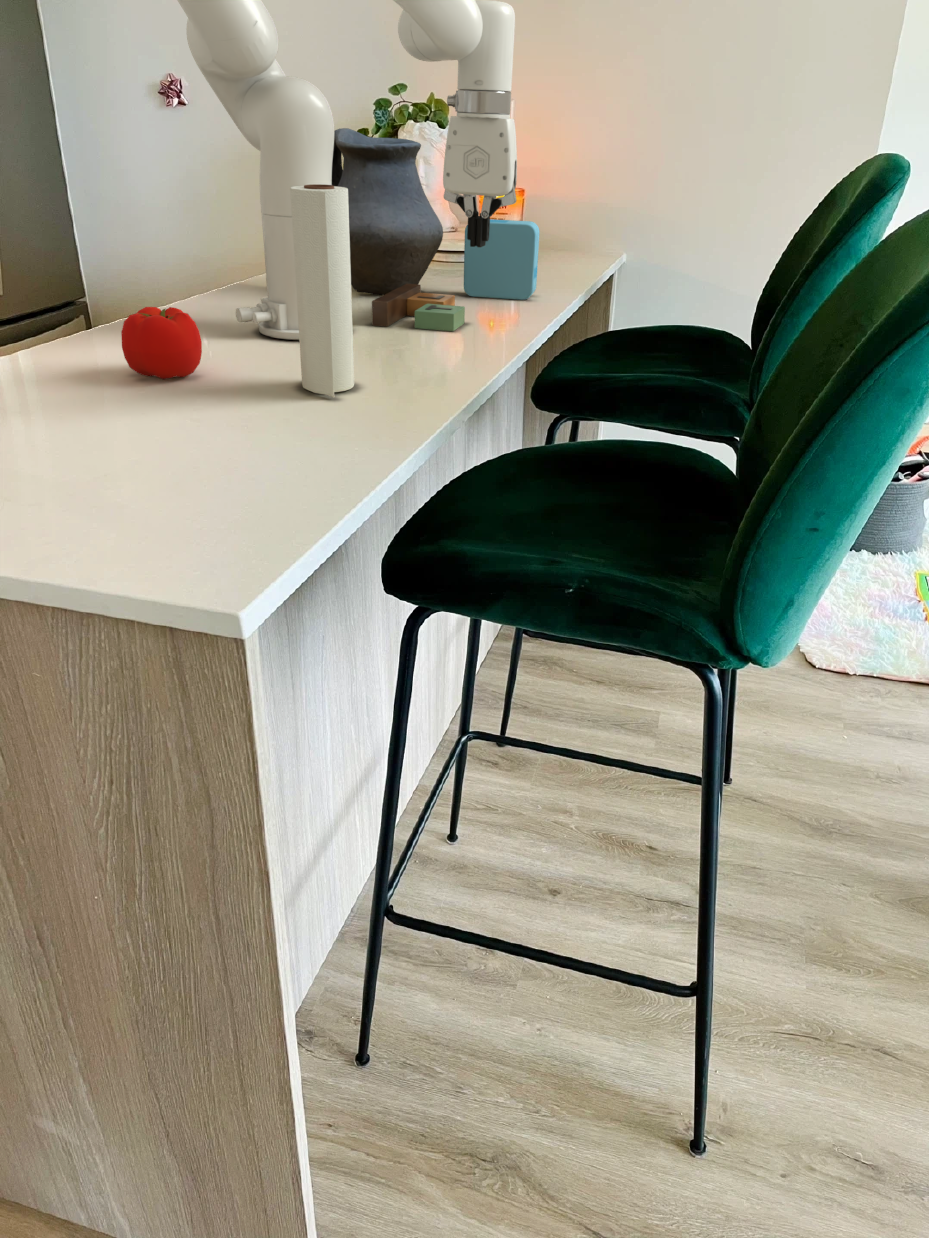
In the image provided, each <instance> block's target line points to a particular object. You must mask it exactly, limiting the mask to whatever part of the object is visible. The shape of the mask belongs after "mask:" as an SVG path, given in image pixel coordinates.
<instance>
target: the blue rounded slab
mask: <svg viewBox="0 0 929 1238" xmlns="http://www.w3.org/2000/svg"><path fill="white" fill-rule="evenodd" d="M467 229H468V224H467V225H466V226H465V229H464V247H463V248H464V249H463V290H464V292H465V294H466V295H468V296H469V297H472V298H488V299H502V300H516V301H517V300H518V301H526V300H528V299H529V298H531V297H532V295H533V294H534V293H535V292H536V290H537V282H538V266H539V265H538V264H539V250H540V228H539V226H538V224H537V223H536V222H534V221H530V220H512V219H511V220H510V219H492V218H490V230H489V240H488V241H486V243H485V246H483V247H477V246H475V247H470V240H468V239H467Z"/></svg>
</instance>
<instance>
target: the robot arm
mask: <svg viewBox="0 0 929 1238" xmlns="http://www.w3.org/2000/svg"><path fill="white" fill-rule="evenodd" d="M392 1H393V2H394V3H396V5H398V6H399V7H400V8H401V9H402V11H401V14H400V16H399V19H398V24H397V33H398V38H399V42H400V43H401V45H402V47H403V49H404V50H405V51H406V52H407V53H408V54H409V55H410V56H411V57H412V58H414V59H417V60H418V61H421V62H427V63H428V62H431V63H432V62H443V61H444V62H447V61H457V62H458V63H457V87H456V89H457V90H455V93H454V94H452V95H447V96H446V97H447V98H446V104H447V107H452V108H454V109H455V112H456V115H451V116H450V118H449V122H448V127H447V134H446V142H445V150H444V160H443V171H442V172H443V174H442V184H443V188H444V193H443V199H444V200H445V201H447V202H449V203H453V204H455V205H458V207H460V209H461V210H462V211H463V213H464V214H465V216H466V217H467V225H468V229H467V239H468V240H470V247H475V246H477V247H483V246H485V243H486V241H488V240H489V230H490V219H491V217H492V216H493V215H494V214H495V213H496V212H497V211H498V210H499V209H500V208H501V207H502V208H503V207H506V206H511V205H514V204H516V203H517V194H516V187H517V181H518V151H517V150H518V147H517V144H518V143H517V130H516V123H515V119H514V118H511V105H512V88H513V86H512V85H513V69H514V68H513V67H514V49H515V48H514V47H515V32H516V13H515V10H514V7H513V6H512V5H511V4H510V3H508V2H506V1H499V0H392ZM177 2H178V4H179V5H180V7H181V8H182V10H183V12H184V14H185V15H186V17H187V21H186V28H185V29H186V40H187V44H188V48H189V51H190V54H191V56H192V57H193V60H194V62H195V64H196V66H197V67H198V69H199V70H200V72H201V74H202V75H203V77H204V78H205V80H206V82H207V83H208V85H209V87H210V88H211V89H212V91H213V92H214V94H215V95H216V97H217V99H218V100H219V102H220V104H222V106H223V107H224V109H225V111H226V112H227V114H228V116H229V117H230V119H231V120H232V121H233V123H234V124H235V126H236V127H237V129H238V130H239V131H240V133H241V134H242V136H243V137H244V138H245V140H246V141H247V142H248V143H249V144H250V145H251V146H252V147H253V148H254V149H256V150H257V151H259V152H260V155H259V156H260V158H259V203H260V213H261V224H262V225H261V226H262V237H263V251H264V252H263V254H264V266H265V279H266V281H265V282H266V289H267V290H266V292H267V297H261V298H260V303H257V304H256V306H253V307H250V306H245V307H238V308H236V309H235V312H234V313H235V319H236V321H237V322H238V323H239V324H240V323H249V322H253V323H254V324H258V331H259V332H260V334H262V335H264V336H265V337H270V338H274V339H281V340H293V341H299V324H298V307H297V291H296V274H295V257H294V240H293V223H292V206H291V190H290V188H291V187H295V186H304V185H312V184H321V185H332V160H333V149H334V131H335V120H334V115H333V111H332V108H331V105H330V103H329V101H328V99H327V97H326V96H325V94H323V92H322V91H321V89H319V88H318V86H316V85H315V84H314V83H312V82H311V81H309V80H307V79H305V78H303V77H298V76H292V75H291V76H290V75H286V73H285V72H284V70H283V69H282V66H281V65H280V64H279V61H278V59H277V56H278V52H279V46H280V43H279V42H280V39H279V33H278V29H277V26H276V23H275V20H274V19H273V17H272V15H271V13H270V11H269V9H268V8H267V6H266V5H265V4H264V2H263V0H177ZM477 196H483V199H482V205H481V211H479V210H478V201H477ZM479 212H480V213H479Z"/></svg>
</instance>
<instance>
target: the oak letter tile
mask: <svg viewBox="0 0 929 1238" xmlns="http://www.w3.org/2000/svg"><path fill="white" fill-rule="evenodd" d="M426 304H439V305H451V306H456V295H455V294H443V293H431V292H430V293H429V292H421V293H420V292H419V293H417V294H415V295H413V296H411V297H410V298H408V299H407V315H406V316H409V317H415V310H417V309H419V308H420V307H422V306H424V305H426Z"/></svg>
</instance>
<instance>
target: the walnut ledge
mask: <svg viewBox="0 0 929 1238" xmlns="http://www.w3.org/2000/svg"><path fill="white" fill-rule="evenodd" d="M421 287H422V286H421V284H420V283H419V284H405V285H403V286H401V287H399V288H397V289H395V290H393V291H391V292H389V293H387V294H385V295H380V296H379V297H377V298H375V299H373V300H371V319H372V326H373V327H374V326H375V327H389V326H391V325H394V324H395V323H396V322H398V321H400V320H401V319H403V318H405V317H407V316H408V315H407V299H408V298H410V297H411V296H413V295H415V294H417V293H419V292H420V293H422V291H421V289H422V288H421Z"/></svg>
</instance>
